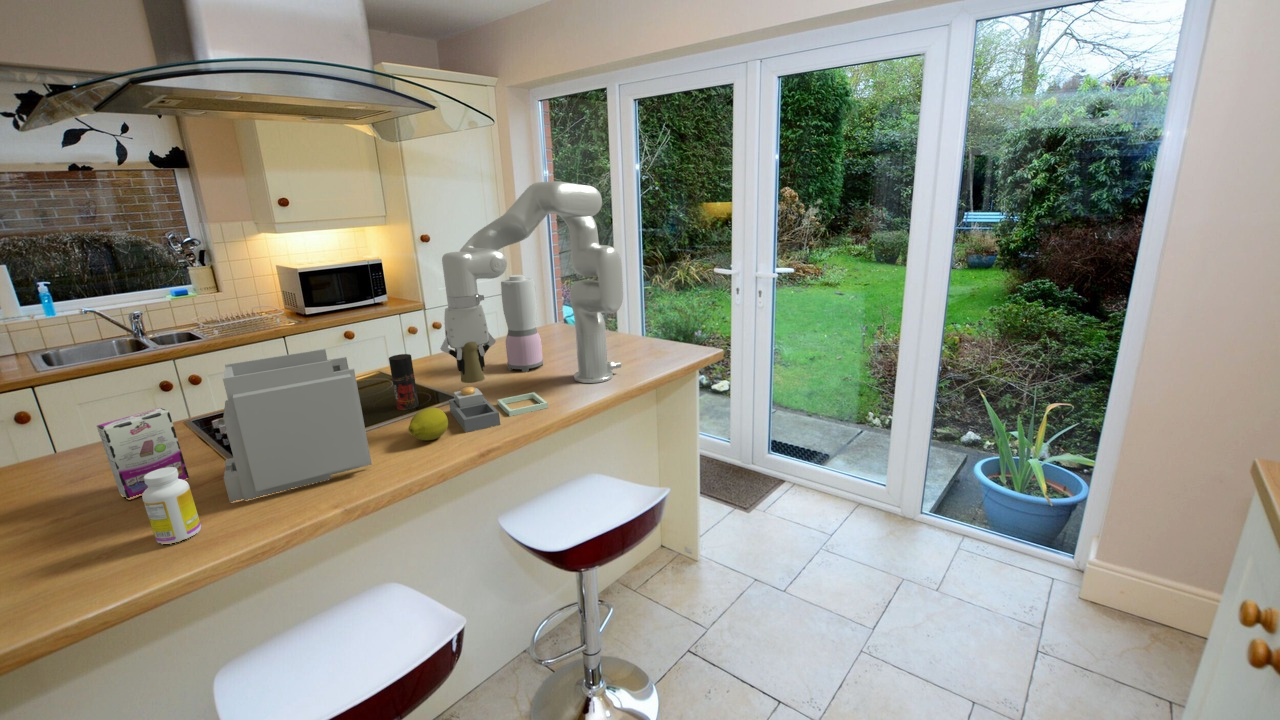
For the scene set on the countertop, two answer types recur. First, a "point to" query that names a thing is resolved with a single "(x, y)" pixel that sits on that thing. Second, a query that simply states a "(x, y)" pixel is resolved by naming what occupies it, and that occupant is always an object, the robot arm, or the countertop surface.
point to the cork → (471, 364)
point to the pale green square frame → (526, 409)
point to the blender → (521, 323)
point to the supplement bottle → (170, 506)
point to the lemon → (428, 424)
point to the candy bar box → (141, 449)
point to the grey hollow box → (475, 415)
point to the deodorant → (403, 381)
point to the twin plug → (468, 397)
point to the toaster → (291, 423)
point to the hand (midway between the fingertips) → (471, 371)
